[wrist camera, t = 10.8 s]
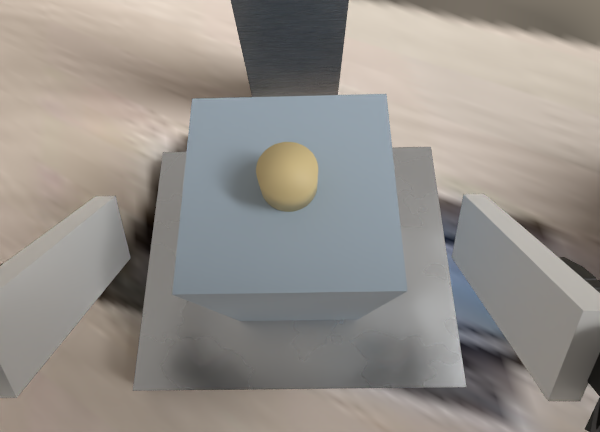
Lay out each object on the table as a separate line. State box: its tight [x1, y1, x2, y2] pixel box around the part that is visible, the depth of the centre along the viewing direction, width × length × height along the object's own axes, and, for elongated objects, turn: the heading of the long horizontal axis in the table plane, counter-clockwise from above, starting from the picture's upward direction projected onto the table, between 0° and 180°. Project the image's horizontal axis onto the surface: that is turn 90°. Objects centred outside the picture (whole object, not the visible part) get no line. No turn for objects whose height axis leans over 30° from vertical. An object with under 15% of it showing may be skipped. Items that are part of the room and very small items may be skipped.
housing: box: [172, 94, 407, 321], centre depth 15 cm, size 6×6×11 cm
